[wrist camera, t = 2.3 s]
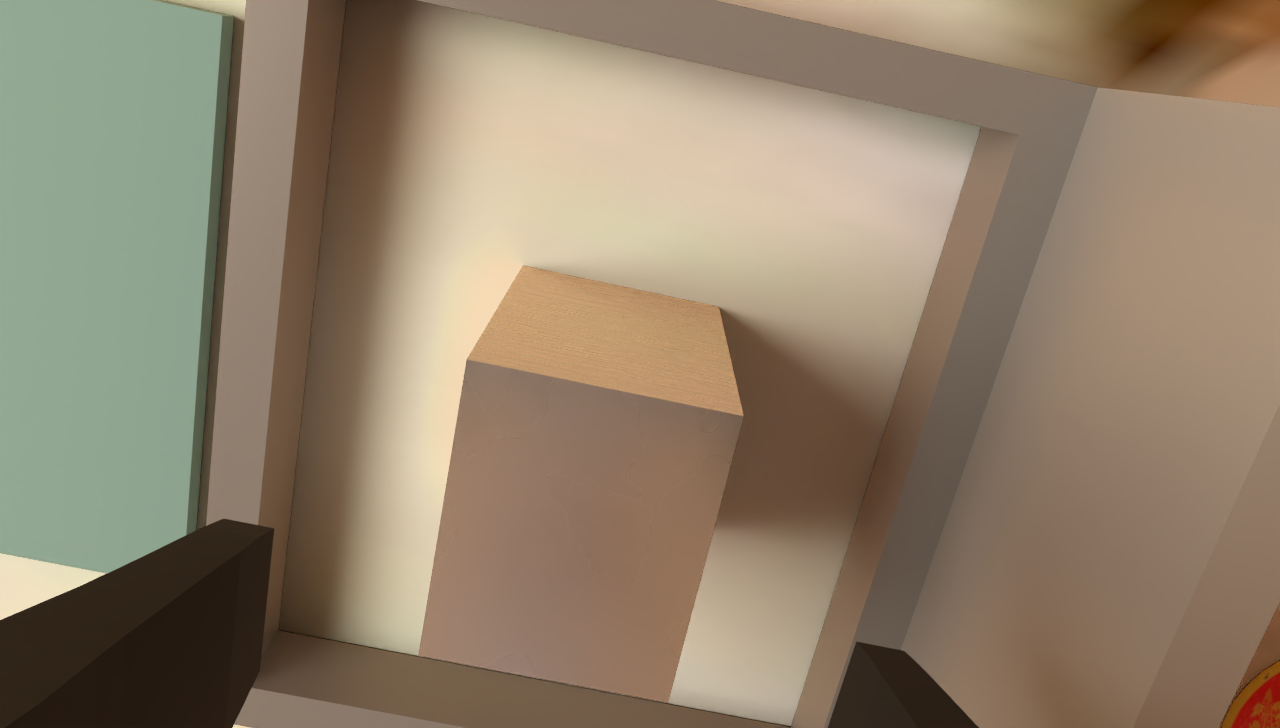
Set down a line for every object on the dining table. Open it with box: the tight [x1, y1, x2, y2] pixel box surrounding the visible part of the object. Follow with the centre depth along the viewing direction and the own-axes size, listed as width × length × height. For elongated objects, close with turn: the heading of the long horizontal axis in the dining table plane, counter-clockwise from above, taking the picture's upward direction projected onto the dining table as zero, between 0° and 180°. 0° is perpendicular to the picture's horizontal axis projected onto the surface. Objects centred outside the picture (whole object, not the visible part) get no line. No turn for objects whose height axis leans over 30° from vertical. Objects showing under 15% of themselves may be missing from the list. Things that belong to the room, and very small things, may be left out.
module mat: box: [0, 0, 234, 573], centre depth 19 cm, size 12×8×1 cm, turn 168°
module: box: [419, 266, 744, 703], centre depth 17 cm, size 5×4×6 cm
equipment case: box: [206, 0, 1280, 728], centre depth 16 cm, size 16×15×9 cm
